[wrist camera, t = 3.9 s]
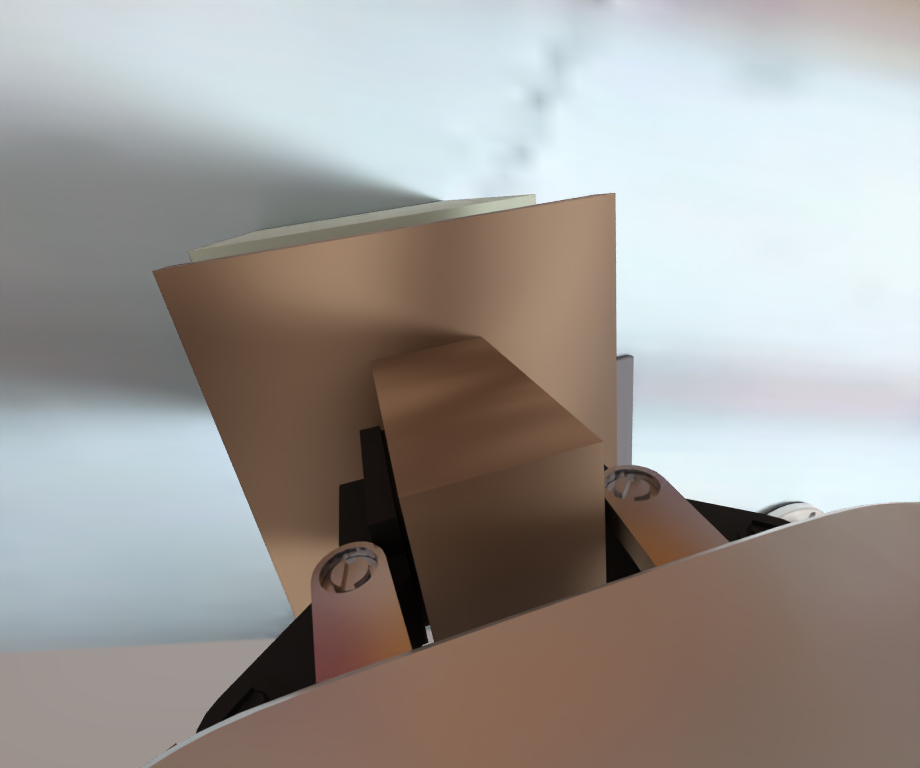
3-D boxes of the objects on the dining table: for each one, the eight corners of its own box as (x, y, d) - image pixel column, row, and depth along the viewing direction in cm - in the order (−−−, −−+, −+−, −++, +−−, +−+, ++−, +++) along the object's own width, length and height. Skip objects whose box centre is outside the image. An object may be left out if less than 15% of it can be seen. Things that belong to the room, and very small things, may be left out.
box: (443, 200, 26) (535, 194, 14) (469, 379, 31) (554, 483, 19) (257, 230, 24) (187, 251, 12) (315, 416, 29) (304, 558, 17)
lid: (577, 195, 13) (870, 173, 6) (589, 515, 18) (760, 722, 11) (182, 262, 11) (-106, 349, 4) (312, 600, 16) (289, 924, 9)
